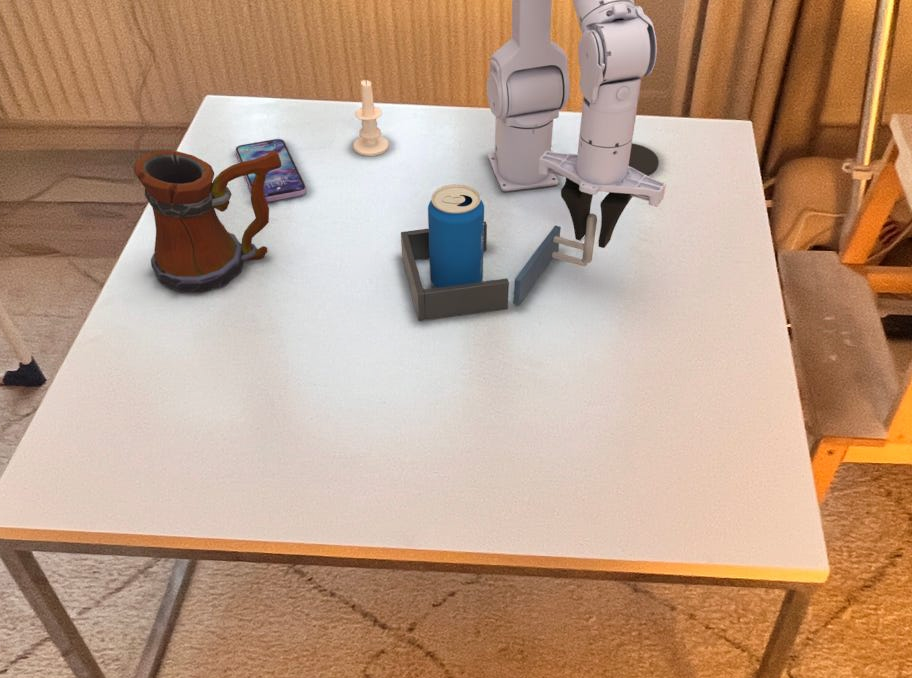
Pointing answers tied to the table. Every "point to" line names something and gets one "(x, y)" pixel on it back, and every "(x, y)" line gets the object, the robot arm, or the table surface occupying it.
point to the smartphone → (278, 180)
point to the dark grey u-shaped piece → (449, 297)
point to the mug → (200, 218)
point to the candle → (369, 125)
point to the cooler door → (550, 251)
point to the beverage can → (456, 236)
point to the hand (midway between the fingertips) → (592, 239)
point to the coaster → (643, 159)
